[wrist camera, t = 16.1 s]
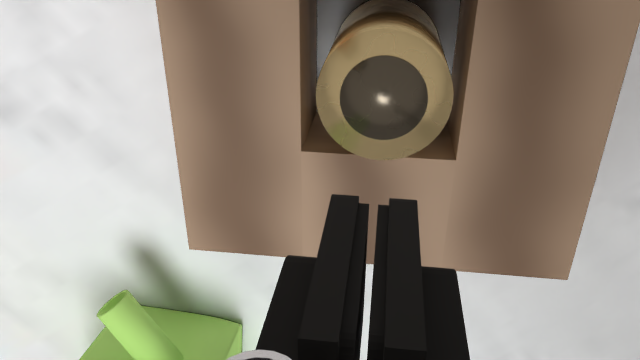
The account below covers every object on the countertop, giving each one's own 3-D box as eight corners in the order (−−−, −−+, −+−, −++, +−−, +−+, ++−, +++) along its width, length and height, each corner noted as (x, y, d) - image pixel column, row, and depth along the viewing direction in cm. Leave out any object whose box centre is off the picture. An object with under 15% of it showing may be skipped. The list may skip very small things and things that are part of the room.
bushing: (445, -2, 24) (462, 32, 18) (433, 103, 26) (445, 165, 20) (336, -5, 25) (315, 27, 18) (334, 98, 27) (315, 157, 21)
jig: (635, -177, 20) (701, -199, 16) (541, 222, 29) (567, 279, 24) (182, -172, 22) (130, -190, 18) (219, 199, 31) (189, 249, 26)
